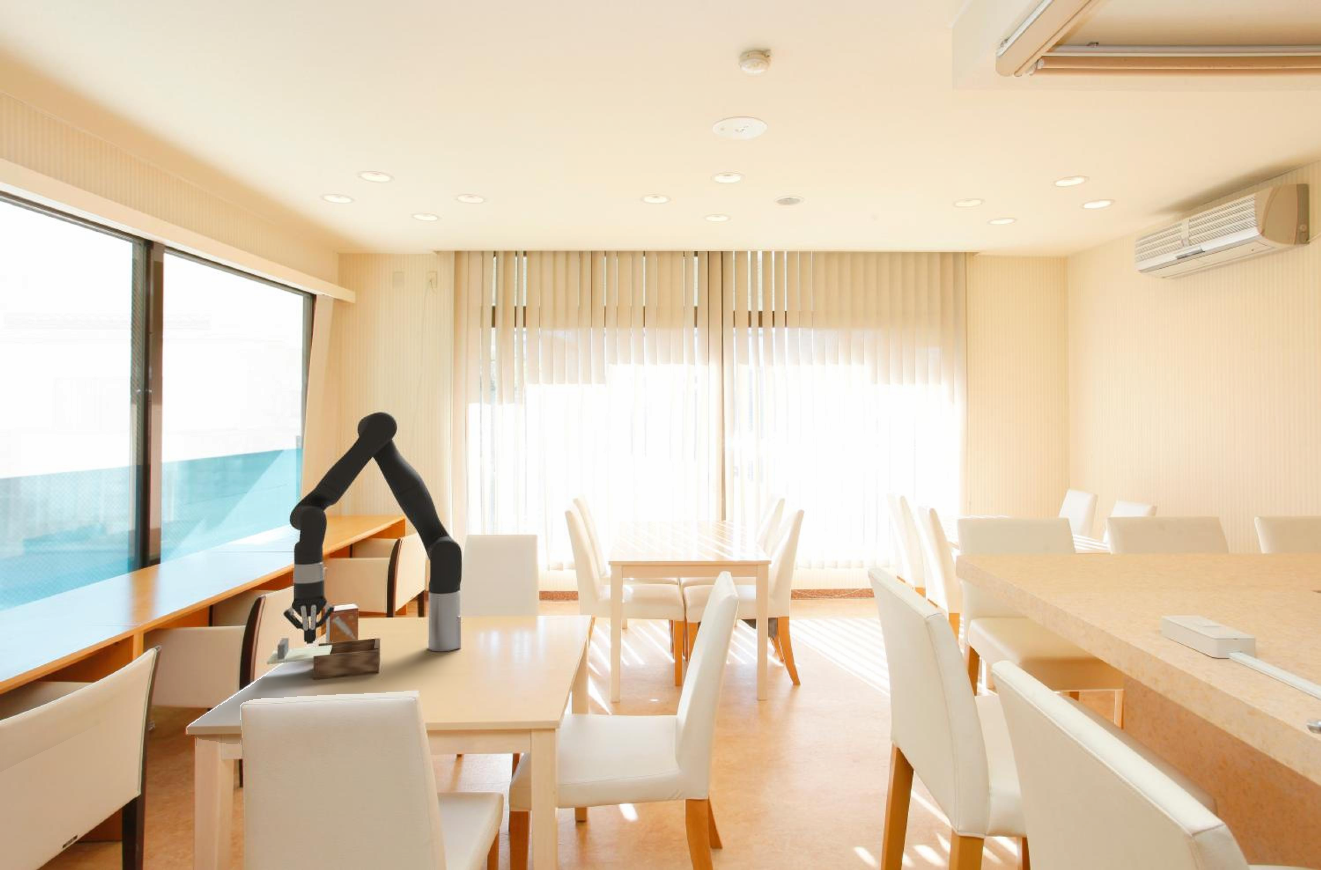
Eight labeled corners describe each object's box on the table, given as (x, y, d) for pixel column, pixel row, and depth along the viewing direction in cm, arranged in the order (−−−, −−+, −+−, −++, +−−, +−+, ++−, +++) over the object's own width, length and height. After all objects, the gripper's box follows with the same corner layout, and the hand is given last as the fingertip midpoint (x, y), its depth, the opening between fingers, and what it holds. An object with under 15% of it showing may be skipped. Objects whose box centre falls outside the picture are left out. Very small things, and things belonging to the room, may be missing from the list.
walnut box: (380, 659, 205) (380, 636, 205) (378, 672, 194) (378, 649, 194) (318, 665, 200) (318, 642, 200) (313, 679, 188) (313, 655, 188)
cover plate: (332, 647, 200) (332, 632, 200) (328, 658, 190) (328, 643, 190) (274, 652, 195) (274, 637, 195) (266, 664, 185) (266, 648, 185)
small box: (329, 655, 209) (329, 611, 209) (325, 650, 214) (325, 606, 214) (358, 650, 213) (358, 607, 213) (354, 645, 219) (354, 603, 219)
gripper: (336, 574, 199) (337, 636, 199) (283, 578, 195) (284, 641, 195) (334, 579, 192) (335, 644, 192) (279, 584, 187) (280, 649, 188)
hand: (310, 642), depth 193 cm, fingers closed
